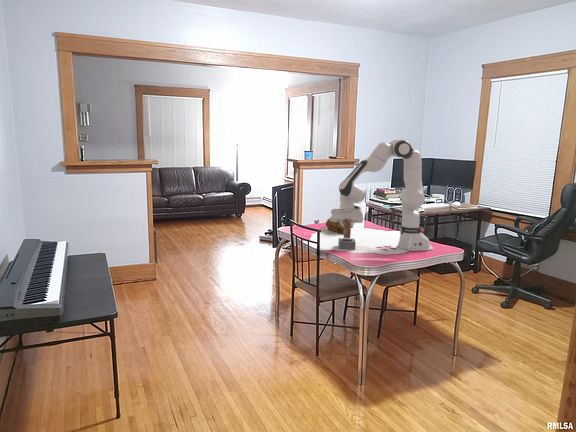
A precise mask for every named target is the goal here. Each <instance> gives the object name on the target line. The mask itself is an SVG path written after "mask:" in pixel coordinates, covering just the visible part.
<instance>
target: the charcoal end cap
mask: <svg viewBox="0 0 576 432" xmlns="http://www.w3.org/2000/svg"><path fill="white" fill-rule="evenodd" d="M356 243H357V242H356V240H355V238H344V237H343V238H341V237H338V243H337V245H338V250H339V249H345V250H344V251H356V250H355V246H356Z"/></svg>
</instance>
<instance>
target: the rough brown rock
mask: <svg viewBox="0 0 576 432" xmlns="http://www.w3.org/2000/svg"><path fill="white" fill-rule="evenodd" d="M331 219H332V215H331V216H330V217H329V218H328V219H327V220H326V222H325V226H326V228H327V229H328V230H330V231H334V232H335V233H338V234H340V233H341V234H344V228H342V225H341V224H340V222H332V221H331ZM342 223H343V224H344V222H342Z"/></svg>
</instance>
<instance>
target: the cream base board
mask: <svg viewBox="0 0 576 432" xmlns="http://www.w3.org/2000/svg"><path fill="white" fill-rule="evenodd" d="M338 250H339V251H346V250H345V249H339V248H338ZM354 251H361V252H362V251H364V252H371V251H372V249H371V247H370V246H369V245H355V250H354Z"/></svg>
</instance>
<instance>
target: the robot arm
mask: <svg viewBox="0 0 576 432" xmlns="http://www.w3.org/2000/svg"><path fill="white" fill-rule="evenodd" d="M392 157H395V158H402V160H403V182H404V187H405V188H403V189H402V191H401V193H400V198H401V199H400V200H401V201H400V202H401V213H402V215H401V225H400V228H399V235H400V236H399V240H398V244H397V247H398V248H399V249H403V250H407V251H411V252H412V251H413V252H415V251H417V252H418V251H419V252H422V251H433V250H434V247H433V245H431V243H430V239H429V238H428V237H427V236H426V235H425V234H424V233H423V232H424V228H422V227H420V215H421V214H420V211H419V207H422V206H423V205H424V203H425V201H426V197H425V194H424V188H423V181H422V179H423V178H422V175H423V174H422V173H423V171H422V168H423V167H422V165H423V164H422V155H421V152H420V151H419V150H416V149H414V148H413V147H412V144H411V143H410V142H409V141H408V140H406V139H396V140H393V141H391V142H389V143H387V142H382V141H381V142H379V144H377V146H376V147H375V148H374V150H373V151H372V152H371V154H370V155H369V156H368V157H367V158H366V159H363V160H361V161H360V162H359V163H358V164H357V165H356V166H355V167H354V169H353V170H351V172H350V173H349V175H348V176H347V177H346V178H345V179H343V180H342V181H341V182H340V184H339V185H338V191H339V193H340V195H339V201H340V205H339V208H333V209H331V210H330V214H331V216H332V219H331V221H332V222H340V224H341V225H342V228H344V224H343V223H342V222H344V219H351V229H353V228H354V226H355V224H362V223H363V222H364V214H363V212H362V208H361V206H359V205H356V204H358V203H360V202H362V201H363V200H365V197H366V190H365V188H363V187H361V186H359V185H357V184H355V182H356V181H357V179H358V178H360V176H361V175H362V174H363V173H364V172H370V173H371V172H372V173H376V172H380V171H382V169H384V167H385V165H386V163H387V162H388V161H389V159H390V158H392Z"/></svg>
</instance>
